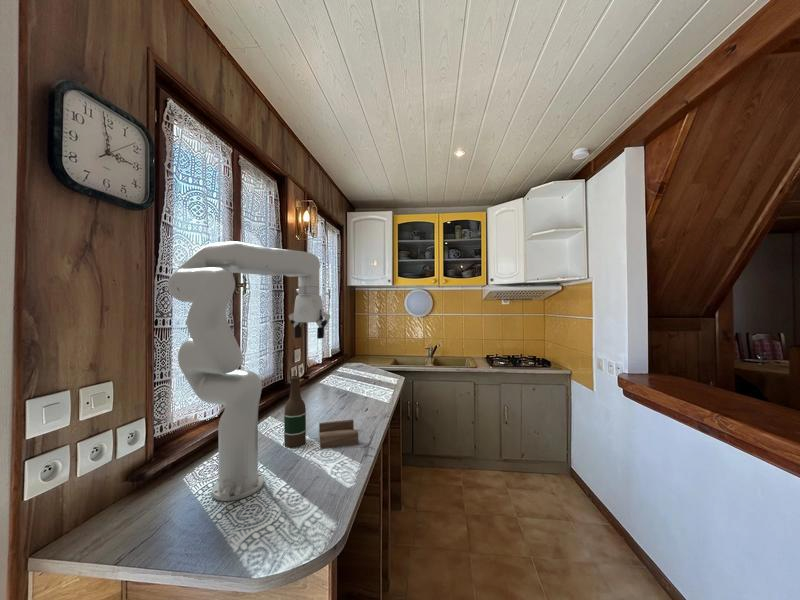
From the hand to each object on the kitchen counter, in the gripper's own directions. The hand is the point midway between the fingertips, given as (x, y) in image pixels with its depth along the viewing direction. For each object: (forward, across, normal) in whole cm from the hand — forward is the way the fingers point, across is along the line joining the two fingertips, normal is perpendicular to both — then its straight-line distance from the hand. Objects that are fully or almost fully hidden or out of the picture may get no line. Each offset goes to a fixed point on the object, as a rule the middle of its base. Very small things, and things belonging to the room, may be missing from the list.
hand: (309, 338), depth 118 cm
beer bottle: (+38, -3, -4) cm, 38 cm away
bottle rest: (+37, +9, +4) cm, 39 cm away
